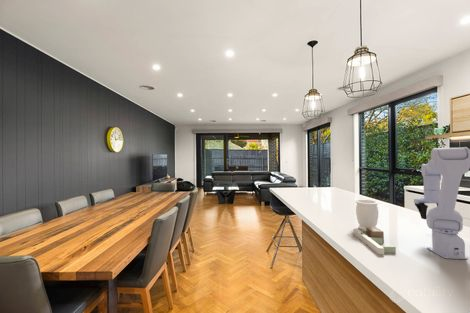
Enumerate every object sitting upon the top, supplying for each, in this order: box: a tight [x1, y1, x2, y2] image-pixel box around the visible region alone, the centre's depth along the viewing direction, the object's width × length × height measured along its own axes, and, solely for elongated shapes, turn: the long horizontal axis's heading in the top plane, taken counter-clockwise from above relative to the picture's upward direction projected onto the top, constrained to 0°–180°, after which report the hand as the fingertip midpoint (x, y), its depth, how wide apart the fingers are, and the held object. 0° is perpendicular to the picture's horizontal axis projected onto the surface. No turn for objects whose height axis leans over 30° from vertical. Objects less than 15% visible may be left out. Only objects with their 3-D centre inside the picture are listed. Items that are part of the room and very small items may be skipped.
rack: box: [352, 228, 397, 256], centre depth 100 cm, size 24×8×3 cm, turn 174°
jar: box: [355, 199, 379, 230], centre depth 119 cm, size 11×10×15 cm
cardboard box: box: [366, 226, 385, 243], centre depth 103 cm, size 6×4×5 cm
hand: (432, 218), depth 101 cm, fingers open, 7 cm apart
